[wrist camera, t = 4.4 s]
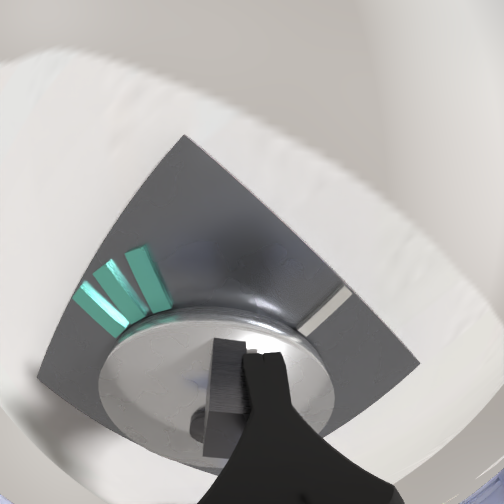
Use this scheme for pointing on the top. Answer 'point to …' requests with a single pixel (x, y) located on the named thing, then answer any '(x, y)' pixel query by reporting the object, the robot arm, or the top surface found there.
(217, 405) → the dial
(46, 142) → the top surface
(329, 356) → the panel
